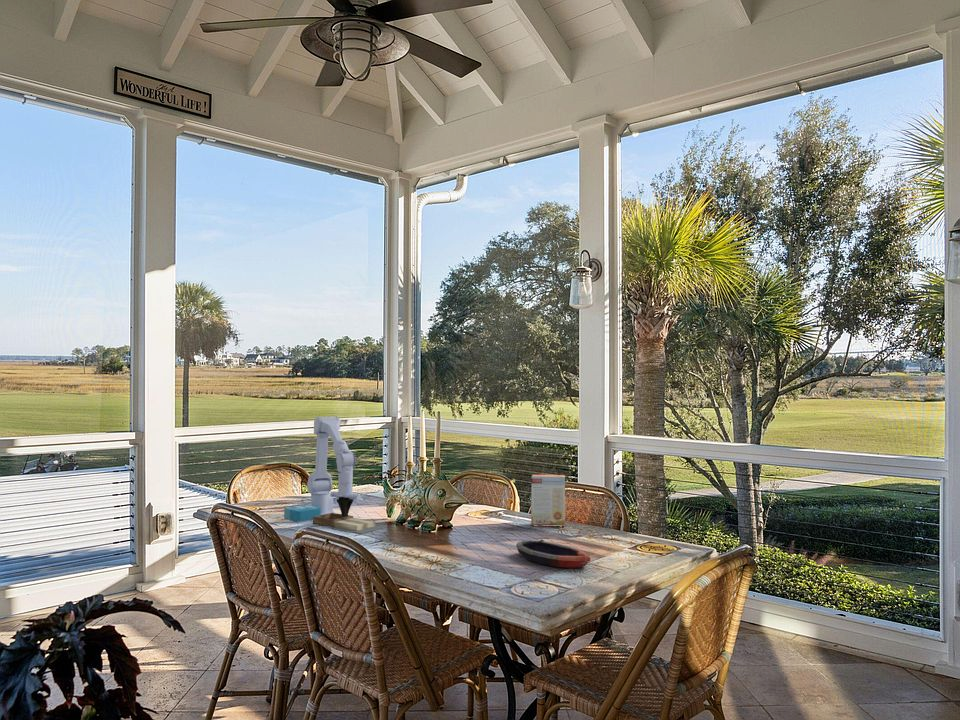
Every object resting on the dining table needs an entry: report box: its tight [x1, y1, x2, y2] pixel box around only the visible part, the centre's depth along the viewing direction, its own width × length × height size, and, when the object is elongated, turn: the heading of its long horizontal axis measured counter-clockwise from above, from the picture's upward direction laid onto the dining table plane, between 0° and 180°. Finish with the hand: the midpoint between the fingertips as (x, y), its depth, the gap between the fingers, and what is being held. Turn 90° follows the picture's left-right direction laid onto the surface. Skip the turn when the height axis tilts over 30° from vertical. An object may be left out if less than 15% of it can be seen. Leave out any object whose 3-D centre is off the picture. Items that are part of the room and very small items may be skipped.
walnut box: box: [312, 512, 354, 528], centre depth 304 cm, size 11×12×3 cm
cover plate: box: [335, 517, 377, 531], centre depth 297 cm, size 11×12×2 cm
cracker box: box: [530, 474, 566, 526], centre depth 307 cm, size 14×6×21 cm, turn 84°
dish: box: [515, 539, 591, 569], centre depth 248 cm, size 16×31×5 cm, turn 40°
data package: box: [283, 504, 321, 523], centre depth 314 cm, size 12×4×12 cm
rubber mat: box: [330, 523, 389, 535], centre depth 296 cm, size 16×16×1 cm
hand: (344, 516), depth 300 cm, fingers closed
